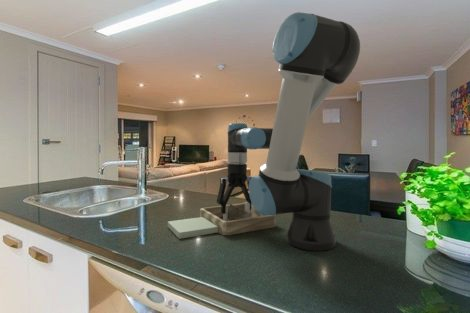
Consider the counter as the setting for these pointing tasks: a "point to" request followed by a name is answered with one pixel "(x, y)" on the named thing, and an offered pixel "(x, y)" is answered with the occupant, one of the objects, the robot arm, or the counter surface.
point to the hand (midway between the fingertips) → (236, 220)
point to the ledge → (192, 227)
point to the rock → (237, 213)
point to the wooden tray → (241, 224)
